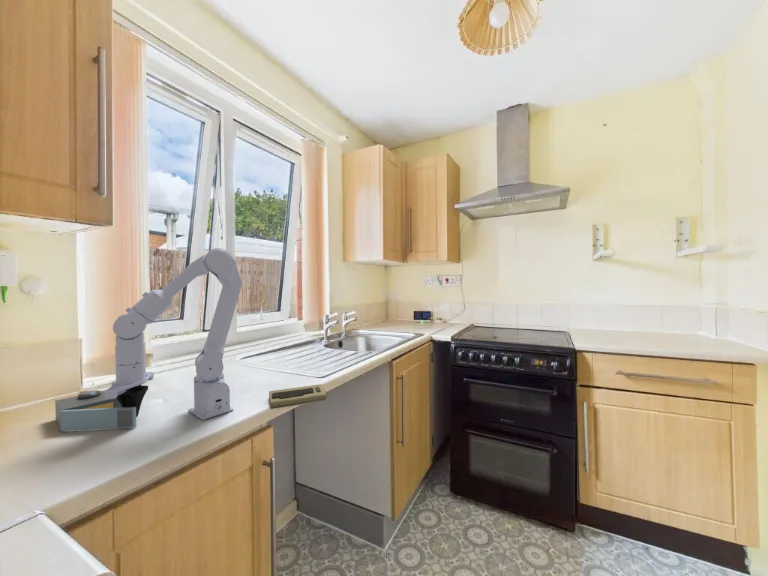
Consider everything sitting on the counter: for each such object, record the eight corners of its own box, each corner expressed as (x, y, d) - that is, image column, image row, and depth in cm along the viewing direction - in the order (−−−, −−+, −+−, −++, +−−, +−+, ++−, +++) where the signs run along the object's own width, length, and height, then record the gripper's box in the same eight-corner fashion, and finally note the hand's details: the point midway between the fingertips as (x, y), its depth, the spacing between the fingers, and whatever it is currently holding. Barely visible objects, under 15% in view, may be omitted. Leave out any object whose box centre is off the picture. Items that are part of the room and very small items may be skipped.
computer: (270, 410, 88) (270, 398, 88) (268, 400, 95) (268, 389, 95) (326, 401, 94) (326, 390, 94) (320, 393, 101) (320, 382, 101)
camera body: (125, 414, 84) (125, 392, 84) (61, 431, 75) (60, 406, 75) (116, 405, 90) (115, 384, 90) (55, 419, 81) (55, 396, 81)
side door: (57, 431, 74) (57, 411, 74) (61, 429, 75) (61, 410, 75) (133, 427, 76) (133, 408, 75) (136, 425, 77) (136, 406, 76)
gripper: (133, 356, 84) (134, 407, 84) (88, 371, 70) (90, 432, 70) (161, 355, 85) (162, 405, 85) (123, 370, 70) (124, 430, 71)
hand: (132, 417), depth 77 cm, fingers closed
